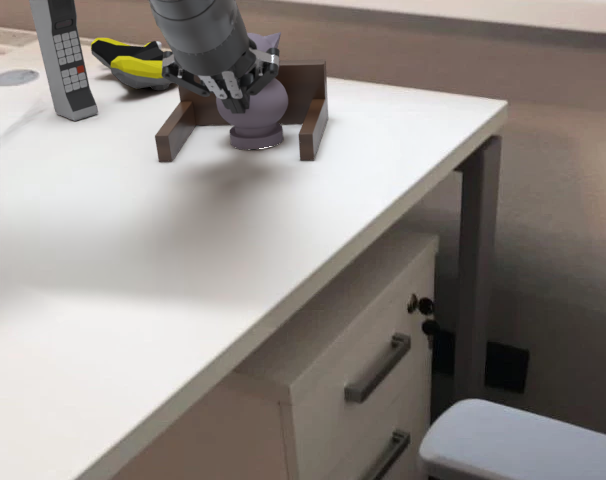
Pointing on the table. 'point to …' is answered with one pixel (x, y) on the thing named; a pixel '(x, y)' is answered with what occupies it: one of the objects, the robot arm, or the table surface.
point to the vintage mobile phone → (63, 58)
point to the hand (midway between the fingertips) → (239, 105)
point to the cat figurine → (259, 109)
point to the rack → (301, 110)
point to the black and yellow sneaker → (132, 62)
